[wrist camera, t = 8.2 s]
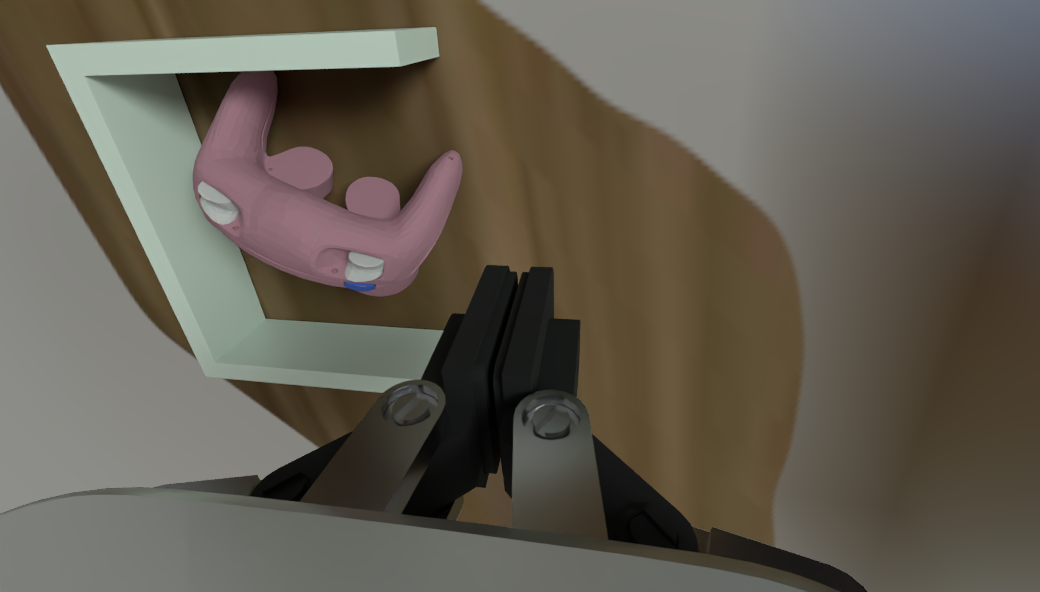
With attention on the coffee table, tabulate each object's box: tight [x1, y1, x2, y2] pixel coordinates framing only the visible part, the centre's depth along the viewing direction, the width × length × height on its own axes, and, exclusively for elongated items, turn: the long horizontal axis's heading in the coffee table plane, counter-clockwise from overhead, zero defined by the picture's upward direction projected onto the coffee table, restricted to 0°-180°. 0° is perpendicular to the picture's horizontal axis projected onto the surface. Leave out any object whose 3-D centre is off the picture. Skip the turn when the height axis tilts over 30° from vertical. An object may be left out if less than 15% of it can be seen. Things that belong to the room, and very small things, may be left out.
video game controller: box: [193, 70, 463, 296], centre depth 20 cm, size 10×5×7 cm, turn 68°
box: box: [46, 27, 443, 393], centre depth 21 cm, size 15×13×4 cm
